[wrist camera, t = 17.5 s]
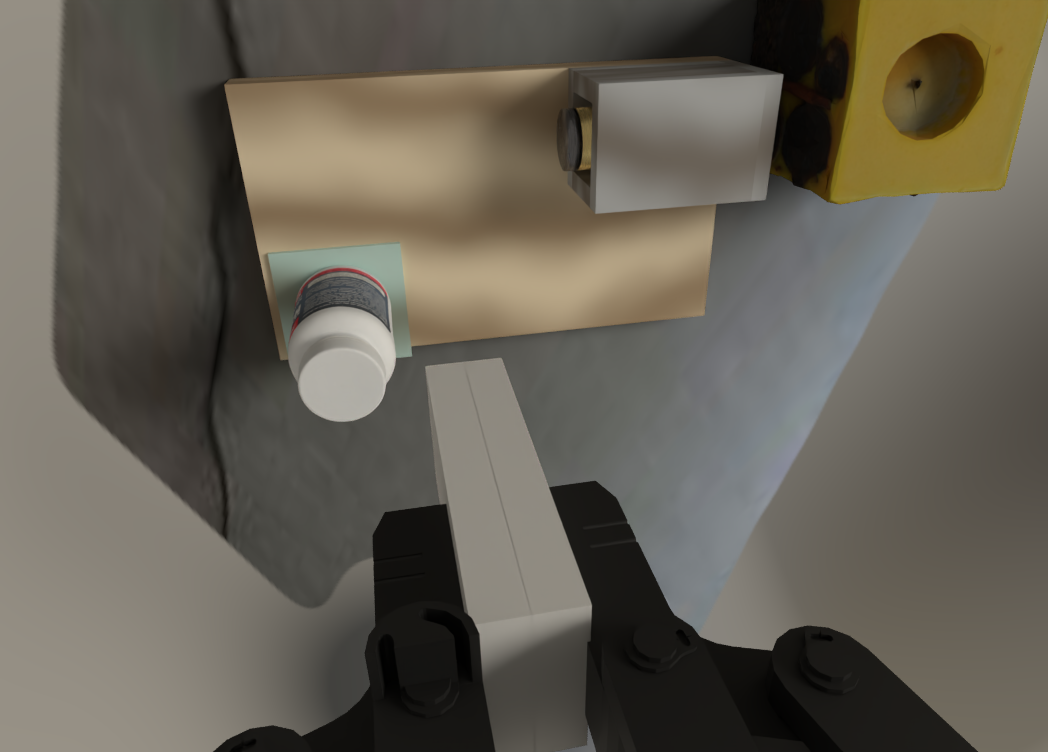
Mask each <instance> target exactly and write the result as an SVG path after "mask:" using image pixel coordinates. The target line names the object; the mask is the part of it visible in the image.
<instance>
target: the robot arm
mask: <svg viewBox="0 0 1048 752" xmlns="http://www.w3.org/2000/svg"><path fill="white" fill-rule="evenodd" d="M425 369H426V379H427V390H428V400H429V410H430V421H431V431H432V441H433V452H434V462H435V472H436V481H437V487H438V494H439V500H440V505H433V506H426V507H419V508H412V509H405V510H398V511H391V512H385V513H384V515H383V517H382V519H381V521H380V523H379V524H378V526H377V528H376V530H375V532H374V534H373V561H374V594H375V624H376V625H375V628H374V629H373V630H372V632H371V633H370V634H369V636H368V641H367V645H366V650H365V658H366V664H367V669H368V674H369V680H370V687H369V689H368V690H367V691H366V693H365V694H364V696H363V697H362V698H361V700H360V701H359V702H358V703H357V704H356V705H354V706H353V707H352V708H351V709H350V710H349V711H348V712H347V713H345V714H344V715H342V716H340V717H339V718H337V719H335V720H334V721H332V722H330V723H328V724H326V725H324V726H322V727H320V728H318V729H316V730H314V731H312V732H310V733H308V734H306V735H304V736H302V737H301V736H300V735H299V734H297V733H296V732H295V731H294V730H291V729H286V728H282V727H278V726H266V727H259V728H252V729H249V730H247V731H244V732H242V733H240V734H238V735H236V736H234V737H232V738H230V739H228V740H226V741H225V742H224V743H223V744H222V745H220V746H219V747H218V748H217V749H216V750H215V751H213V752H555V751H560V750H565V749H570V748H575V747H579V746H585V745H587V730H588V726H589V729H590V732H591V736H592V739H593V742H594V745H595V748H596V752H978V751H977V750H976V749H975V748H974V747H972V746H971V745H970V744H969V743H968V742H967V741H966V740H965V739H964V738H963V737H962V736H961V735H960V734H958V733H957V732H956V731H955V730H954V729H953V728H952V727H951V726H950V725H949V724H948V723H947V722H946V721H945V720H943V719H942V718H941V717H940V716H939V715H938V714H937V713H936V712H935V711H934V710H933V709H932V708H930V707H929V706H928V705H927V704H926V703H925V702H924V701H923V700H922V699H921V698H920V697H919V696H918V695H916V694H915V693H914V692H913V691H912V690H911V689H910V688H909V687H908V686H907V685H906V684H905V683H904V682H903V681H902V680H900V679H899V678H898V677H897V676H896V675H895V674H894V673H893V672H892V671H891V670H890V669H889V668H887V666H885V665H884V664H883V663H882V662H881V661H880V660H879V659H878V658H877V657H876V656H875V655H874V654H872V653H871V652H870V651H869V650H868V649H867V648H866V647H864V646H863V645H861V644H860V643H859V642H857V641H856V640H854V639H853V638H852V637H850V636H848V635H846V634H843V633H840V632H838V631H835V630H833V629H830V628H826V627H816V626H804V627H799V628H795V629H790V630H788V631H787V632H786V633H784V634H783V635H782V636H780V637H779V638H778V639H777V641H776V643H775V645H774V648H773V650H772V651H769V650H760V649H751V648H741V647H732V646H727V645H722V644H717V643H714V642H712V641H709V640H706V639H704V638H701V637H700V636H699V635H698V634H697V632H696V631H695V630H694V628H693V627H692V626H690V625H689V624H687V623H686V622H684V621H683V620H681V619H680V618H678V617H677V616H675V615H674V614H673V612H672V611H671V609H670V608H669V605H668V603H667V601H666V599H665V597H664V595H663V593H662V591H661V589H660V587H659V585H658V583H657V581H656V579H655V577H654V574H653V572H652V570H651V568H650V566H649V564H648V562H647V560H646V558H645V556H644V554H643V552H642V550H641V548H640V546H639V544H638V542H636V537H635V535H634V533H633V531H632V529H631V527H630V525H629V524H628V523H627V519H626V517H625V515H624V513H623V510H622V508H621V506H620V504H619V502H618V500H617V498H616V497H615V496H613V495H612V494H611V493H610V492H608V491H607V490H606V489H605V488H604V487H602V486H601V485H600V484H599V483H598V482H596V481H590V482H583V483H576V484H569V485H562V486H555V487H548V484H547V481H546V478H545V476H544V473H543V470H542V468H541V465H540V462H539V459H538V457H537V454H536V451H535V448H534V446H533V443H532V440H531V438H530V435H529V432H528V429H527V427H526V424H525V421H524V418H523V416H522V413H521V410H520V408H519V405H518V402H517V399H516V397H515V394H514V391H513V388H512V386H511V383H510V380H509V377H508V375H507V372H506V369H505V367H504V364H503V361H502V358H495V359H486V360H477V361H468V362H459V363H450V364H441V365H432V366H425Z"/></svg>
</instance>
